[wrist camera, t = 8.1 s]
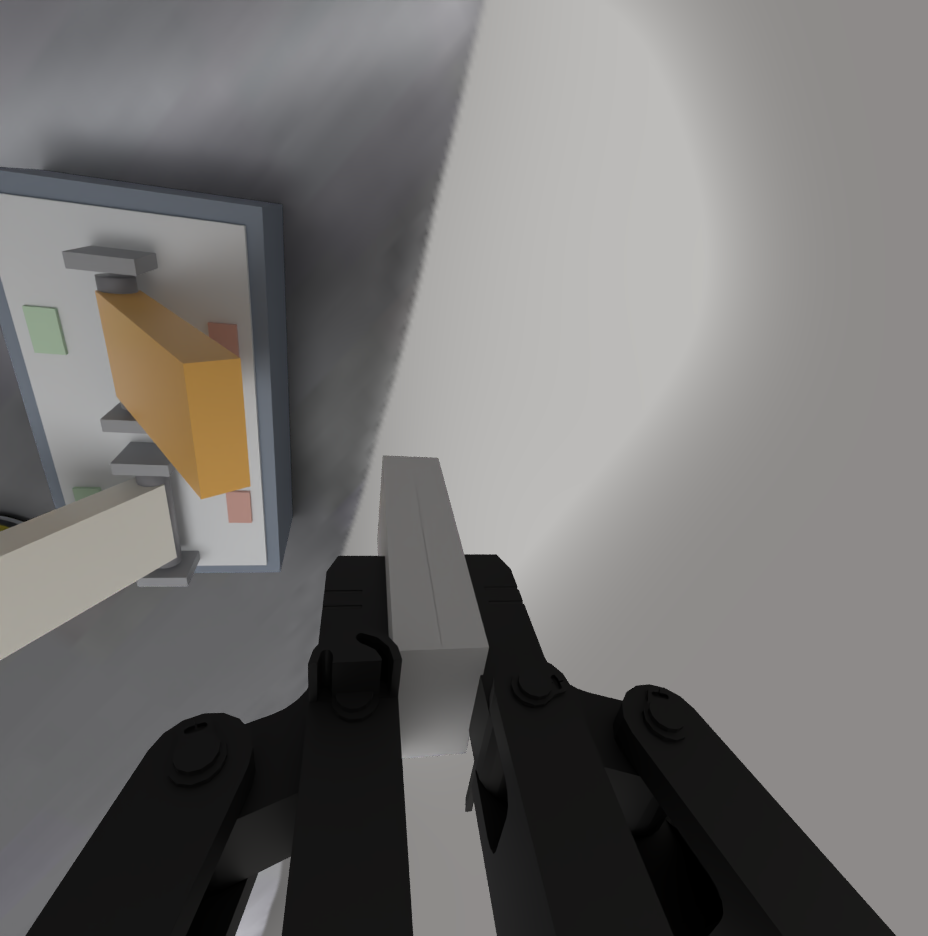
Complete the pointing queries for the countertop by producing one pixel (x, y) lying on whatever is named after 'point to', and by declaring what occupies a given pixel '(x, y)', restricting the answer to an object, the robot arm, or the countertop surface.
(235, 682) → the countertop surface
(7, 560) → the ivory lever
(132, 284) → the orange lever
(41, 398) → the breaker panel
